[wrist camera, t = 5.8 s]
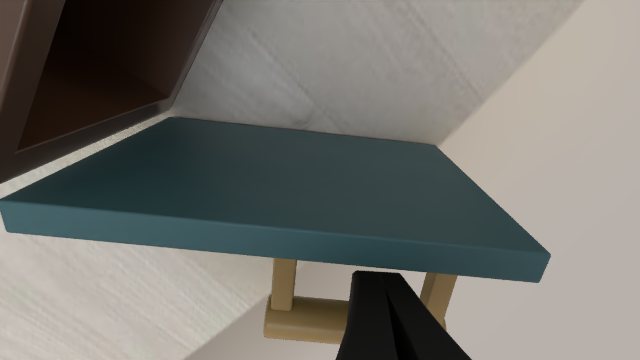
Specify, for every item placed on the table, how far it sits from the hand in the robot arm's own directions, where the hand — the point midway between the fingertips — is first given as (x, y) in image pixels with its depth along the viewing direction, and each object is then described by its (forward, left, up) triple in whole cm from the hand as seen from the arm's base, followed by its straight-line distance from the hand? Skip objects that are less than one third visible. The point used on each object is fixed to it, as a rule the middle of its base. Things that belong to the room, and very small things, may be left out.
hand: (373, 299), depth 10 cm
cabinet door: (+2, +1, -7) cm, 7 cm away
